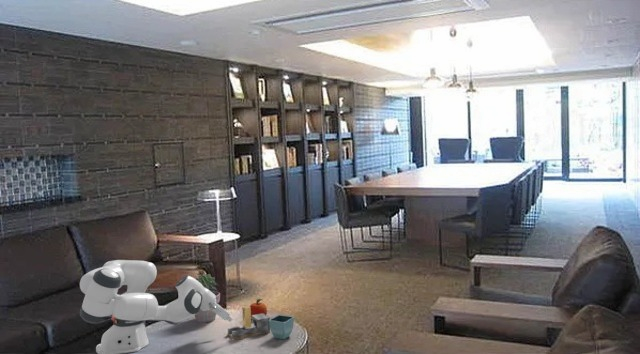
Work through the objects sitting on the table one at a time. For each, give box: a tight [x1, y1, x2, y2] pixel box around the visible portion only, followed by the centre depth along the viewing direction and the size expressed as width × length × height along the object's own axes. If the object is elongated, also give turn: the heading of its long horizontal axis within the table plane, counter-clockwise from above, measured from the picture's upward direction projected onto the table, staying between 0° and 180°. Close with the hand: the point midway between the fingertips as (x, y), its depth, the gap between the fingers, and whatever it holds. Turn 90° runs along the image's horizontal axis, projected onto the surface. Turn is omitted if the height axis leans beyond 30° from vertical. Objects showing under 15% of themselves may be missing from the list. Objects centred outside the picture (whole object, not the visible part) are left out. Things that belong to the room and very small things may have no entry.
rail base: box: [227, 313, 271, 341], centre depth 265 cm, size 18×8×7 cm, turn 119°
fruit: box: [249, 298, 268, 319], centre depth 286 cm, size 10×10×10 cm
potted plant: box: [194, 269, 222, 323], centre depth 286 cm, size 18×20×25 cm
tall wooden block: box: [241, 305, 257, 330], centre depth 266 cm, size 10×3×12 cm, turn 119°
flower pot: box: [269, 314, 295, 340], centre depth 259 cm, size 9×9×9 cm
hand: (227, 317), depth 260 cm, fingers open, 8 cm apart
